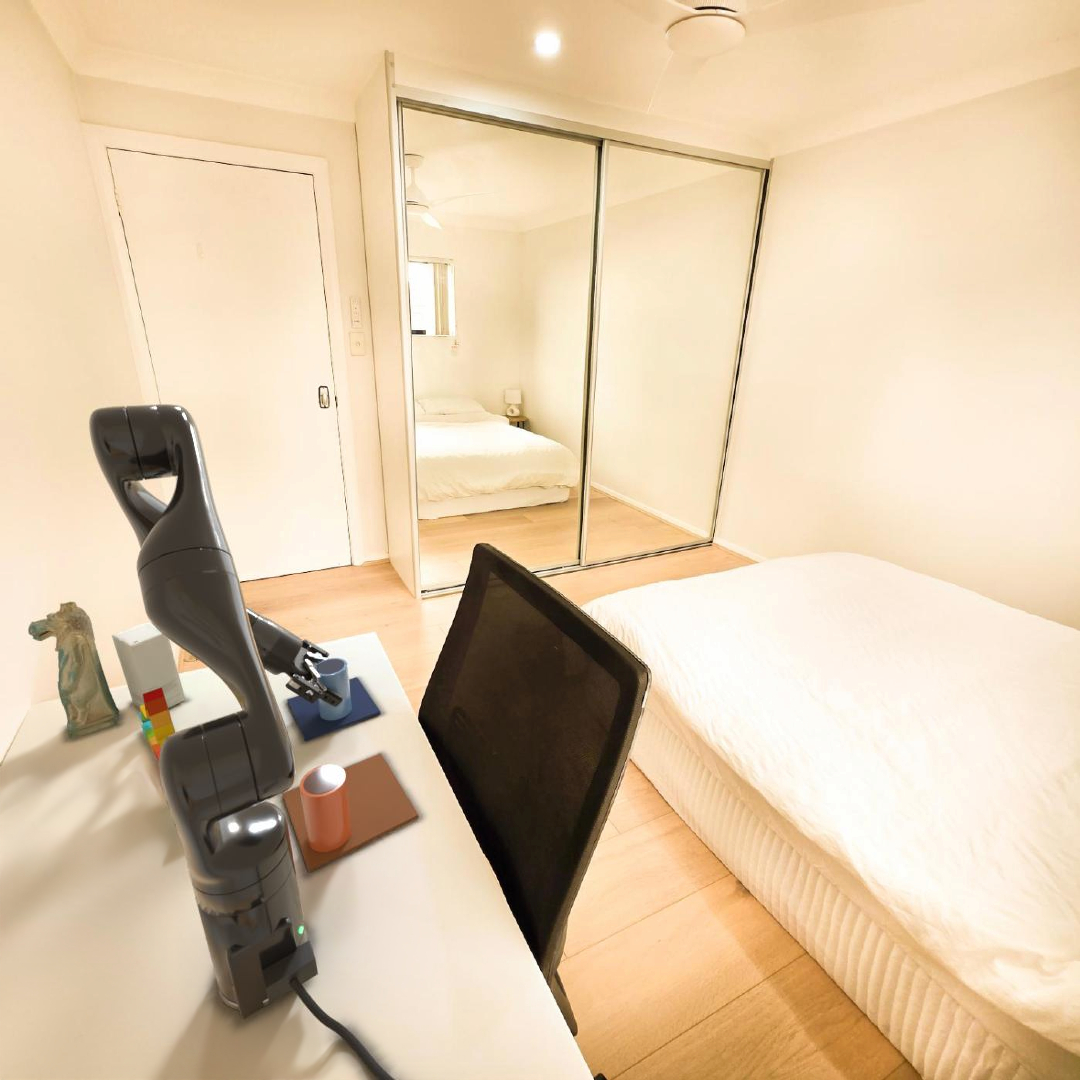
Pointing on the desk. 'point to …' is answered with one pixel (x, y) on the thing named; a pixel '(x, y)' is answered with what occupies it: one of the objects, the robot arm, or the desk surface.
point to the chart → (156, 720)
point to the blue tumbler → (335, 688)
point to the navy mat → (317, 726)
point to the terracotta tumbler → (326, 808)
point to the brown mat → (359, 809)
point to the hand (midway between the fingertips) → (341, 689)
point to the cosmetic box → (148, 663)
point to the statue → (78, 670)
